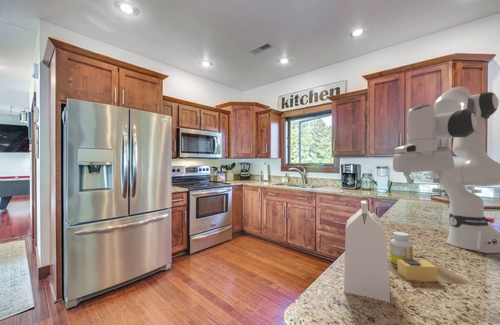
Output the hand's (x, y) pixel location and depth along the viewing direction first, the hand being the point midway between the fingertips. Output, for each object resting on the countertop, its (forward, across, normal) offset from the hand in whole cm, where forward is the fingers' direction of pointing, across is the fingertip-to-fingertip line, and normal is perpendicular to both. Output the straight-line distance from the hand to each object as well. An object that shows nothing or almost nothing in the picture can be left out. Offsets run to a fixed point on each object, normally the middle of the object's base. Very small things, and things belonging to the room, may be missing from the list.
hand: (423, 183), depth 83 cm
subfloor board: (+30, +9, +11) cm, 33 cm away
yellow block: (+28, +13, +15) cm, 34 cm away
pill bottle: (+29, +13, +7) cm, 32 cm away
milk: (+29, +31, +20) cm, 47 cm away
